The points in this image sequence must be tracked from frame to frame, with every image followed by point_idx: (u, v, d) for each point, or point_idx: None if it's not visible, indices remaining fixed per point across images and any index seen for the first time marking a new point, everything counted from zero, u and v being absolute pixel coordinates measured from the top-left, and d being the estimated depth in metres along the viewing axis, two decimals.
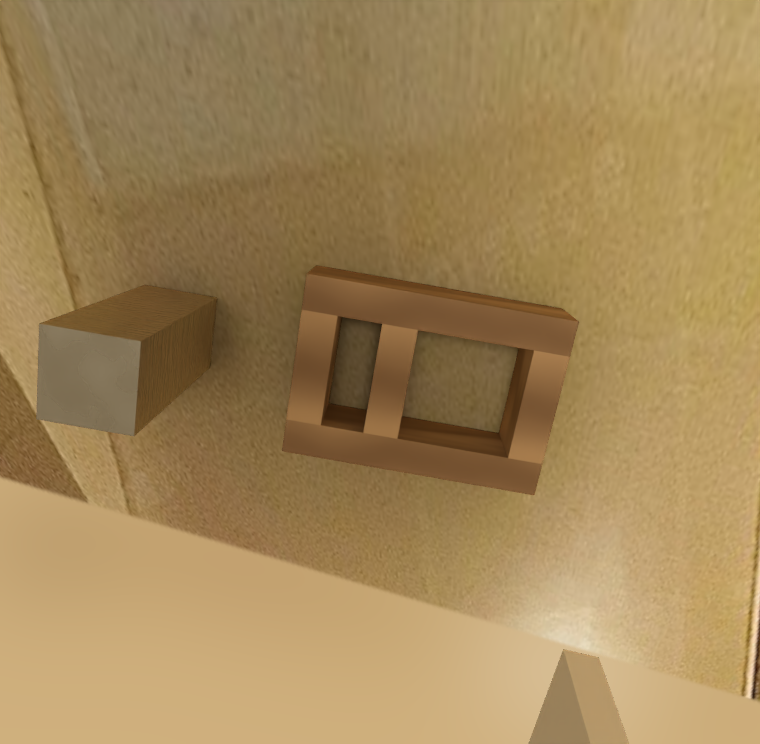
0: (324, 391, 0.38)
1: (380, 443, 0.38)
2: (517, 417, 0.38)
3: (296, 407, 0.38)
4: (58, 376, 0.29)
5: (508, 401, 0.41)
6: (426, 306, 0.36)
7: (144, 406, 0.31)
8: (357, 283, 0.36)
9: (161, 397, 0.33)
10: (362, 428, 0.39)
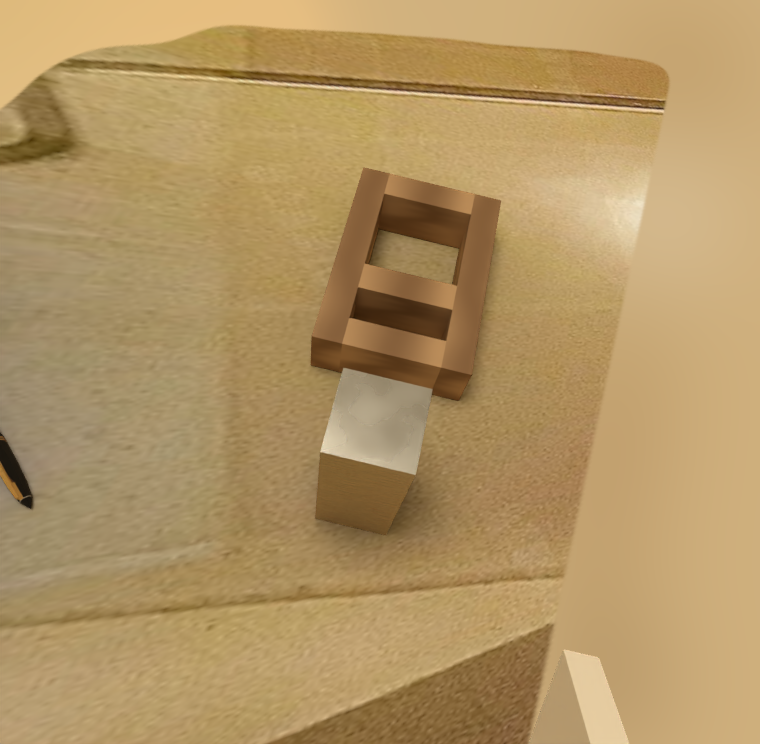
0: (415, 334, 0.43)
1: (461, 298, 0.45)
2: (437, 207, 0.48)
3: (430, 358, 0.42)
4: (372, 444, 0.31)
5: (431, 236, 0.51)
6: (346, 256, 0.45)
7: None
8: (323, 301, 0.43)
9: None
10: (450, 316, 0.45)
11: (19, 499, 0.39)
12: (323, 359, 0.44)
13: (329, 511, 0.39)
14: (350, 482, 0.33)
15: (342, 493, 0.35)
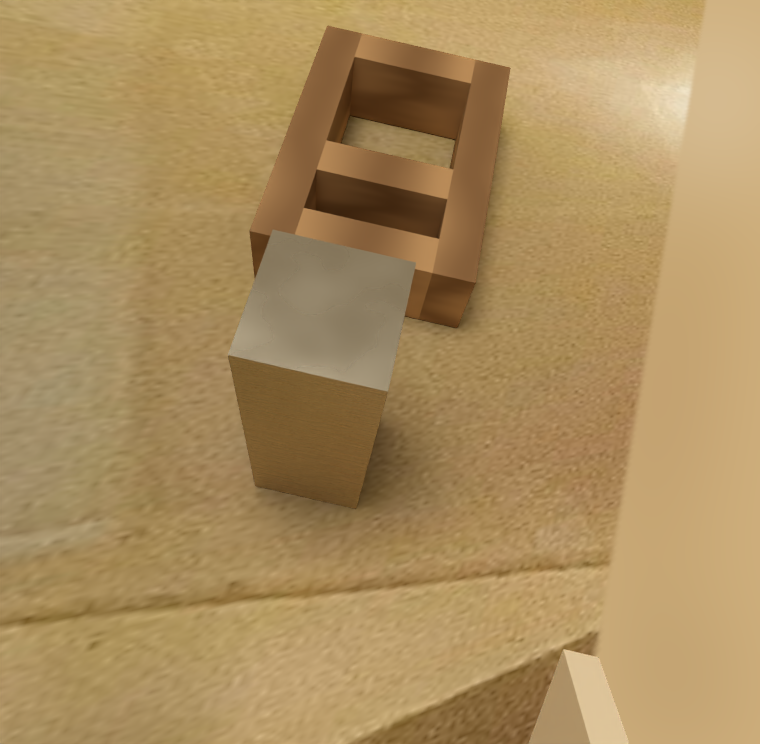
0: (395, 230, 0.31)
1: (459, 185, 0.32)
2: (426, 75, 0.36)
3: (416, 260, 0.30)
4: (316, 344, 0.19)
5: (418, 123, 0.39)
6: (301, 131, 0.33)
7: None
8: (267, 186, 0.31)
9: None
10: (444, 209, 0.33)
11: None
12: None
13: (271, 473, 0.27)
14: (288, 416, 0.21)
15: (281, 438, 0.23)
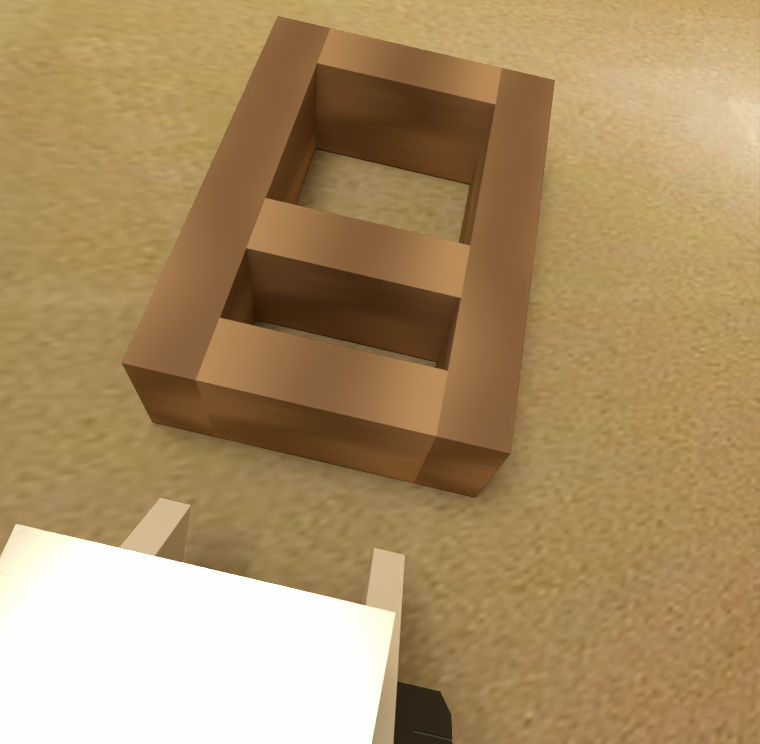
0: (374, 356, 0.18)
1: (481, 272, 0.20)
2: (426, 92, 0.24)
3: (409, 412, 0.18)
4: None
5: (416, 160, 0.26)
6: (225, 183, 0.20)
7: None
8: (161, 279, 0.19)
9: None
10: (455, 312, 0.20)
11: None
12: (172, 412, 0.20)
13: None
14: None
15: None
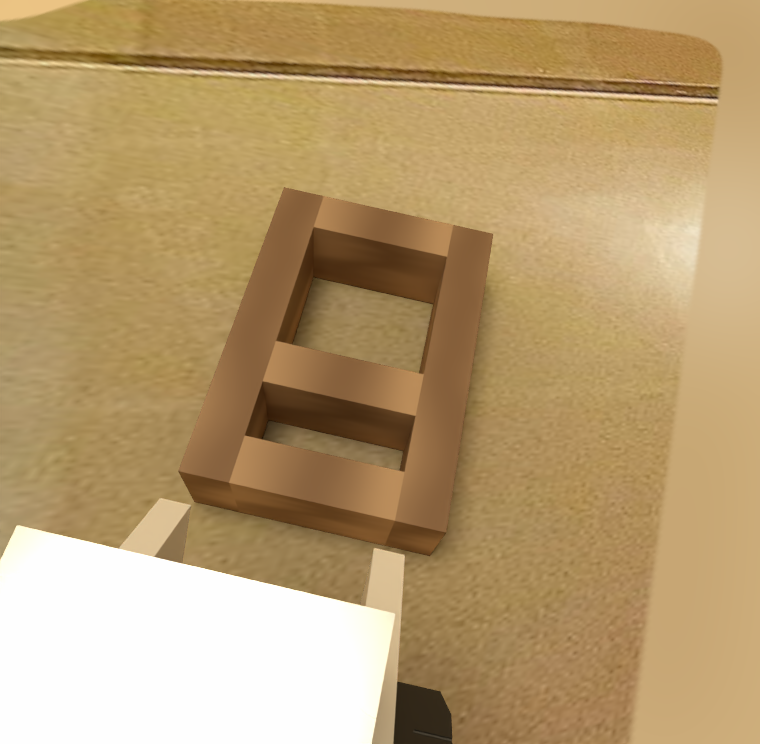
0: (353, 462, 0.26)
1: (430, 395, 0.28)
2: (395, 247, 0.31)
3: (376, 504, 0.25)
4: None
5: (390, 287, 0.34)
6: (246, 329, 0.28)
7: None
8: (203, 407, 0.27)
9: None
10: (413, 423, 0.28)
11: None
12: (210, 497, 0.28)
13: None
14: None
15: None
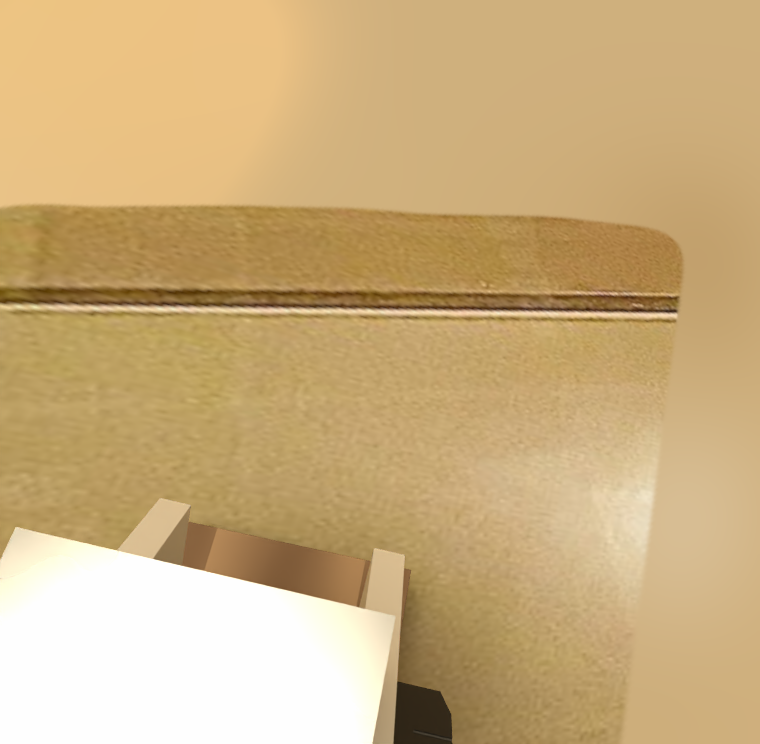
0: None
1: None
2: None
3: None
4: None
5: None
6: None
7: None
8: None
9: None
10: None
11: None
12: None
13: None
14: None
15: None
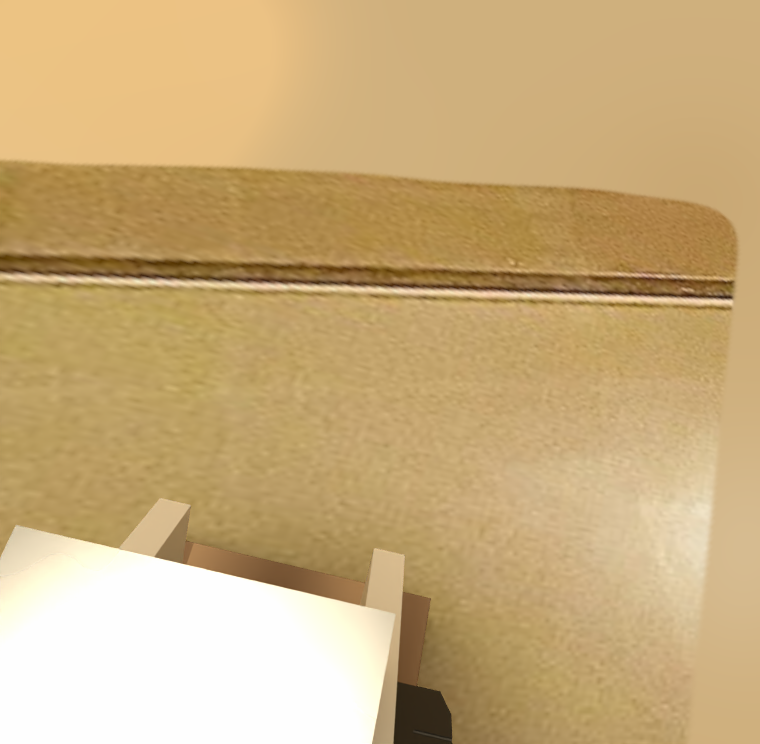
0: None
1: None
2: None
3: None
4: None
5: None
6: None
7: None
8: None
9: None
10: None
11: None
12: None
13: None
14: None
15: None
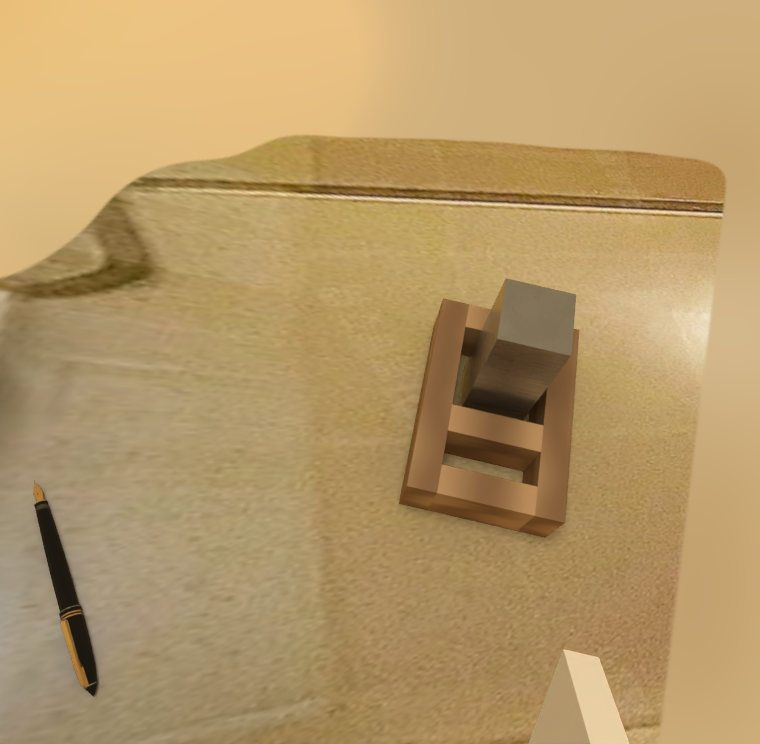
0: (507, 480, 0.44)
1: (549, 439, 0.45)
2: None
3: (523, 505, 0.43)
4: (535, 334, 0.40)
5: None
6: (433, 397, 0.46)
7: None
8: (415, 446, 0.44)
9: None
10: (537, 456, 0.45)
11: (84, 686, 0.39)
12: (414, 500, 0.45)
13: (473, 407, 0.48)
14: (508, 370, 0.42)
15: (495, 384, 0.44)
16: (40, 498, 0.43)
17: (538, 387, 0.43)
